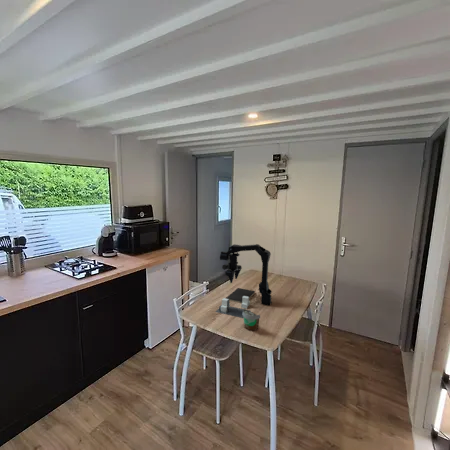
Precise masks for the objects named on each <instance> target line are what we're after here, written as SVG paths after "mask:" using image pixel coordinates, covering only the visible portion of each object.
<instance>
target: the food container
mask: <svg viewBox="0 0 450 450" xmlns="http://www.w3.org/2000/svg"><path fill="white" fill-rule="evenodd" d="M243 309H244V310H243V313H242V315H243V316H244V318H243V326H244V328H245V330H247V331H250V332H254V331H258V330H259V325H260V319H261V314H256V313H254V312H253V311H251V310H250V311H251V312H250V311H247V310H248V309H246V308H243Z"/></svg>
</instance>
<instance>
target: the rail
mask: <svg viewBox="0 0 450 450" xmlns="http://www.w3.org/2000/svg"><path fill="white" fill-rule="evenodd" d="M221 306H222V304H220V305H219V306H218V308H217V310H215V312H214V313H219V314H223V315H225V316H226V315H228V316H231V317H235V318H240V319H244V316H243V315H242V313H243V310H244V309H245V308H241V307H235V306H231V305H230V307H227V312H222V311H221ZM246 310H247V311H250V312H252V310H248V309H246Z"/></svg>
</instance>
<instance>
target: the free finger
mask: <svg viewBox="0 0 450 450" xmlns="http://www.w3.org/2000/svg"><path fill="white" fill-rule="evenodd" d="M240 304H241V305H240V308H241V309H245V308H246V310H248V308H249V306H250V305H251V300H250V298H249V297H248V296H243V297H242V303H240Z"/></svg>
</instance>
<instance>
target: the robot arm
mask: <svg viewBox="0 0 450 450" xmlns="http://www.w3.org/2000/svg"><path fill="white" fill-rule="evenodd" d="M248 251H251V252H252V251H255V252H256V253H257V254H258V255H259V256H260V260H261V263H262V266H261V267H262V269H261V281H260V282H259V284H258V292H259V293H260V295H261V298H260V302H261V303H260V304H261V305H265V306H271V304H272V303H273V302H272V295H271V294H272V292H273V291H272V290H271V289H270V287H269V282H268V281H269V280H268V278H269V277H268V276H269V261H270V259H271V255H272V254H271V252H270V250H268V249H266V248H264V247H263V246H261V245H260V244H257V243H256V244H245V245H240V244H232V245H230V246H229V247H228V250H227V251H220V255H219V261H229V262H228V263H227V264H223V265H222V266H221V267H222V270H224V271H225V270H226V271H225V272H224V275H225V276H227V277H228V278H229V283H231V284H232V283H233V281H234V278H235V280H237V279H238V277H239V275H240V272H241V270H242V269H243V267H242V265H239V262H238V257H239V256H241V254H240V253H239V252H248Z"/></svg>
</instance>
